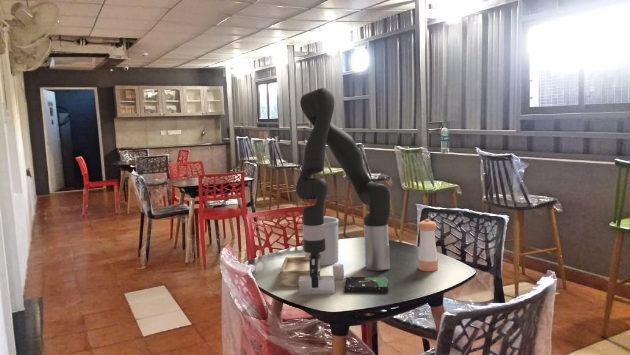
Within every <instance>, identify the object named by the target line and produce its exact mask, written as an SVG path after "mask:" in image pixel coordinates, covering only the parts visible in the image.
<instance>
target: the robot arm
mask: <svg viewBox="0 0 630 355" xmlns="http://www.w3.org/2000/svg"><path fill="white" fill-rule="evenodd" d="M299 102H300V107H301V110H302V113H303V114H304V116H305V117H306V119H307V120H308V121H309V122H310V124H311V125H312V126H313V128H312V130H311V133H310V135H309V137H308V138H307V141H306V144H305V147H304V154H303V165H302V168H301V172H300V175H299V177H298V178H297V181H296V186H295V194H296V195H297V198H299V199H301V200H315V203H314V204H311V205H307V206H305V207H303V208H302V247H303V251H304V253H305V252H307V253H311V255H309V269H310V277H311V282H312V288H318V276H321V274H320V273H321V266H320V265H321V255H320V252H323V251H325V249H326V246H325V228H324V216H325V215H324V210H325V209H324V207H325V204H326V199H327V198H326V197H327V194H328V190H329V186H328V183H327V181H326V180H325V179H324V178H322V177H320V178H318V177H313V178H312V176H313V175H316V174H320V173H321V172H323V171H324V168H325V156H326V145H327V147H328V148H329V150H330V152H331V153H332V155H333V157H334V158H335V160H336V161H337V163H338V164H339V165H340V167H341V169H342V170H343V171H344V173H345V175H346V176H347V178H348V180H349V181H350V182H351V184H352V186H353V188H354V190H355V193H356V194H357V196H358V198H359V200H360V202H361V203H363V204H364V205H365V206H369V213H368V215H365V216H364V218H363V231H364V232H363V233H364V256H365V259H364V260H365V262H364V263H365V269H367V270H368V271H369V270H370V271H386V270H390V269H391V261H390V260H391V257H390V243H389V218H390V216H391V215H390V214H391V193H390V190H389V188H388V186H387V185H385V184H383V183H379V182H374V181H373V180H372V179H371V178H370V176H369V174H368V173H367V172H366V170H365V168H364V162H363V155H362V152H361V150H360V148H359V146H358V144H357V143H356V142H355V140H354V138H353V137H352V136H351V135H350V134H349V133H347V132H345V131H344V130H343V129H341V128H340V127H338V126H337V125H335V124H334V123H332V118H333V114H334V111H335V97H334V94H333V93H332V91H331V90H330V89H329V88H327V87H321V88H317V89H315V90H312V91H310V92H308V93H305V94H303V95H302V96H301V98H300V101H299ZM312 271H313V273H312Z"/></svg>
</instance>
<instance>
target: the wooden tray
mask: <svg viewBox="0 0 630 355" xmlns="http://www.w3.org/2000/svg"><path fill="white" fill-rule="evenodd" d="M312 273H313V271H312ZM303 276H310V269H309V257H305V256H291V257H290V256H289V257H285V258H284V260H283V262H282V265H281V266H280V269H279V286H280V287H297V286H298V287H299V278H300V277H303Z"/></svg>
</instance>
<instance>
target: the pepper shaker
mask: <svg viewBox="0 0 630 355" xmlns="http://www.w3.org/2000/svg"><path fill="white" fill-rule="evenodd" d="M418 222H419V221H418ZM437 226H438V225H437V223H436V222H435V221H432V220H430V219H429V218H425V219H424V220H422V221H420V222H419V223H418V224H417V229H418V230H419V246H418V260H417V267H418V270H420V271H423V272H434V271H437V270H438V269H439V265H438V264H439V263H438V262H439V260H438V258H437V256H438V255H437V246H436V234H435V233H436V232H435V230H436V229H437V228H438V227H437Z"/></svg>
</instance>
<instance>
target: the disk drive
mask: <svg viewBox="0 0 630 355" xmlns="http://www.w3.org/2000/svg"><path fill="white" fill-rule="evenodd" d="M343 292H344V294H388V293H389V278H388V276H387V277H385V276H384V277H383V276H346V278H345V283H344V286H343Z"/></svg>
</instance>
